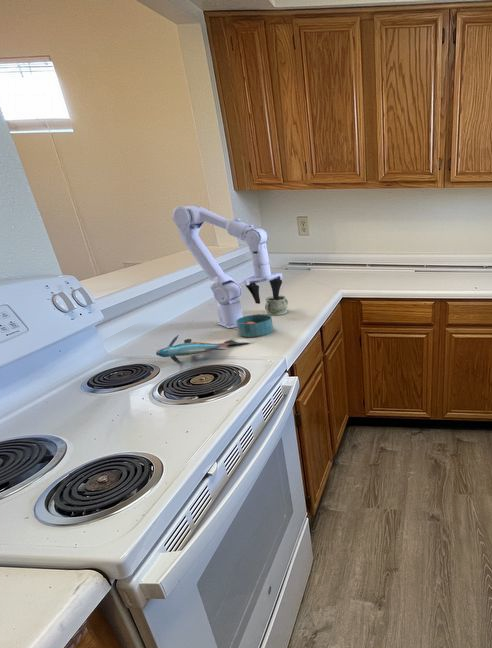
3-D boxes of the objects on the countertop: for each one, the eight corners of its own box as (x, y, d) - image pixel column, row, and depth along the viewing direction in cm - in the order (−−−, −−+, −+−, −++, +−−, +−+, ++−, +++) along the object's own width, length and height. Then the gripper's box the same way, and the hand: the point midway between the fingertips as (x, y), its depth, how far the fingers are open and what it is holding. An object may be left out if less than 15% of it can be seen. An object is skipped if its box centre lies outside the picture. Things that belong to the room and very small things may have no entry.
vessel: (281, 308, 181) (279, 293, 179) (295, 310, 177) (293, 295, 174) (259, 314, 172) (256, 300, 170) (274, 317, 168) (271, 302, 165)
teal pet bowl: (232, 333, 150) (229, 320, 148) (262, 325, 158) (260, 312, 156) (249, 340, 143) (247, 326, 141) (280, 331, 151) (277, 318, 149)
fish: (141, 363, 121) (171, 372, 113) (139, 335, 119) (169, 342, 111) (230, 351, 146) (259, 357, 139) (229, 327, 144) (259, 333, 137)
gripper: (248, 267, 141) (255, 306, 147) (284, 261, 151) (290, 298, 156) (237, 265, 145) (244, 304, 151) (274, 260, 155) (279, 296, 161)
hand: (267, 301), depth 154 cm, fingers open, 7 cm apart
